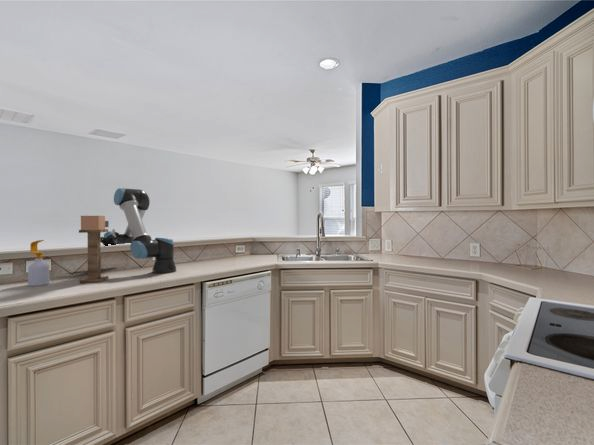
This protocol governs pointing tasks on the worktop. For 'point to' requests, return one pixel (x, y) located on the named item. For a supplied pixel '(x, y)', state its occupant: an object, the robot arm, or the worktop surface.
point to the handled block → (93, 223)
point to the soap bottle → (38, 268)
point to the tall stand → (94, 257)
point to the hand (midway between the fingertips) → (101, 230)
